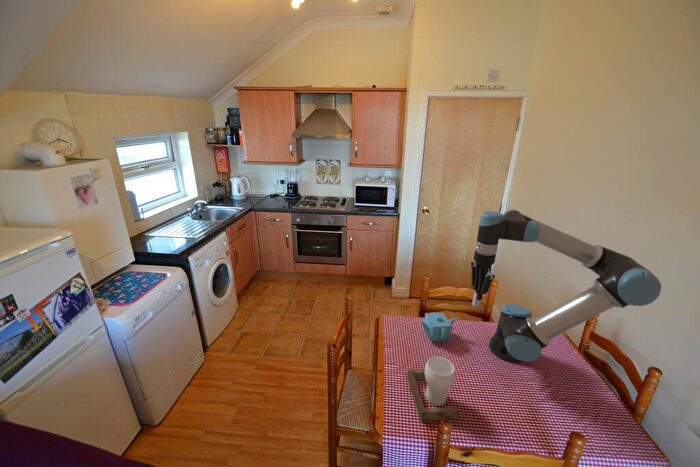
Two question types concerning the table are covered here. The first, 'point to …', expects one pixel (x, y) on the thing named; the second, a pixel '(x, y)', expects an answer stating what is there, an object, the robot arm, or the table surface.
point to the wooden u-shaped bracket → (423, 412)
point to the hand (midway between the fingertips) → (476, 305)
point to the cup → (438, 379)
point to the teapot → (438, 326)
